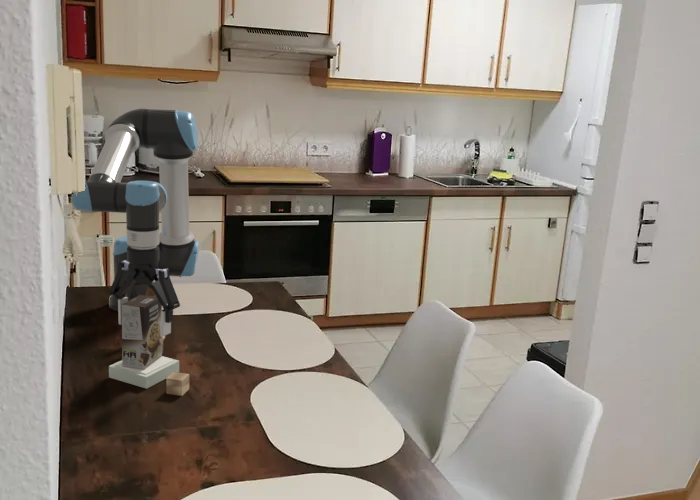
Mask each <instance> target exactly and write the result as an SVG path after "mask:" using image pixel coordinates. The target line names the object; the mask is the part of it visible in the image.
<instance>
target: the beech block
mask: <svg viewBox="0 0 700 500" xmlns="http://www.w3.org/2000/svg"><path fill="white" fill-rule="evenodd" d="M165 381H166V385H165V386H166V387H165V388H166V395H167V394H168V395H174V396H181V397H182V396H184V395H185V394H186V392H188V391H189V390H190V373H185V372H180V371H179V372H173V373H172V374H171V375H170V376H168V377H167V378H166V379H165Z"/></svg>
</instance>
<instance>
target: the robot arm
mask: <svg viewBox="0 0 700 500" xmlns="http://www.w3.org/2000/svg"><path fill="white" fill-rule="evenodd" d="M104 141H105V143H104V144H103V147H102V149H101V151H100V153H99V155H98V157H97V160H96V162H95V164H94V166H93V168H92V170H91V173H90V175H89V178H88V179H87V180H85V187H86V189H85V191H83V192H78V194H77V196H76V195H75V194H72V193H71V203H72V206H73V208H74V209H75V210H76V211H81V212H82V211H83V212H89V213H92V212H93V213H94V212H95V213H96V212H97V213H120V214H121V213H124V214H126V216H125V218H126V235H125V236H121V237H119V238H117V239H116V240H115V241H114V243H113V252H112V256H113V281H112V284H111V287H110V289H109V291H108V292H109V294H110V295H109V299H108V308H109V309H110V310H113V311H116V312H118V317H117V318H118V319H117V320H118V325H121V326H122V304H124V303H125V302H127V301H129V300H131V299H133V298H135V297H137V296H139V295H144V296H146V291H147V288H148V287H149V288H151V289H152V291H153V292H154V294H155V296H156V297H157V299H158V300H159V302H160V304H161V305H162V310H161V336H165V337H166V336H167V335H169V334H171V333H172V322H173V321H174V310H175V309H178V308H180V307H181V303H180V301H179V298H178V296H177V294H176V291H175V288H174V286H173V282H172V280H171V278H170V277H179V278H182V277H191V276H193V275H195V273H196V270H197V263H198V258H199V251H200V241H198V240H195V235H194V234H193V232H192V231H190V206H189V205H190V199H189V195H190V194H189V192H190V191H189V160H190V159H191V158H192V157H193V156H194V152H195V151H197V150H198V148H199V147H198V146H199V141H198V129H197V123H196V120H195V117H194V114H192V113H191V112H190V111H184V110H183V111H181V110H178V109H176V110H175V109H153V108H149V109H148V108H136V109H132V110H129V111H127V112H124V113H123V114H121V115H120V116H118V117H117V118H115V119H114V120H113V121H112V122H111V123H110V124H109V126H108V127H107V129H106V130H105V134H104ZM138 149H146V150H147V149H149V150H153V152H152V153H153V157H154V158H156V159H157V160H158V166H159V167H158V169H159V170H158V171H159V174H158V175H159V182H158V181H152V180H133V181H129V182H122V179H123V177H124V174H125V172H126V169H127V166H128V164H129V162H130V159H131V157H132V154H133V153H135V152H136V151H137V150H138ZM160 221H161V224H160ZM160 225H161V231H160Z"/></svg>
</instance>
